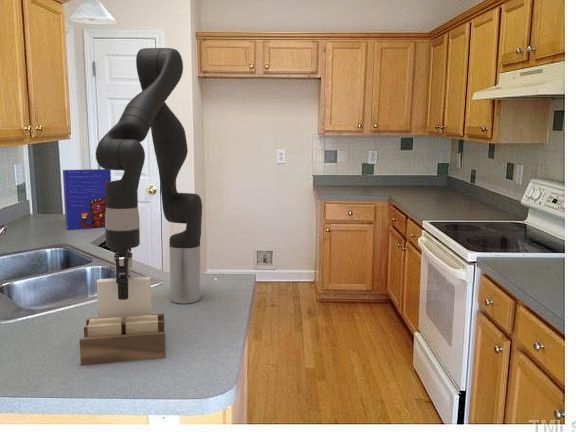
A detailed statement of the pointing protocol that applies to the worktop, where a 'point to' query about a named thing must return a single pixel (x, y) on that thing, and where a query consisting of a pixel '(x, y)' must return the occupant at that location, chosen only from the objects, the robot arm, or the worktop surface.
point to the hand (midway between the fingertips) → (124, 293)
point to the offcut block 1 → (105, 327)
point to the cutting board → (130, 307)
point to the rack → (123, 346)
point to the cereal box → (85, 198)
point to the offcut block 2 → (142, 324)
